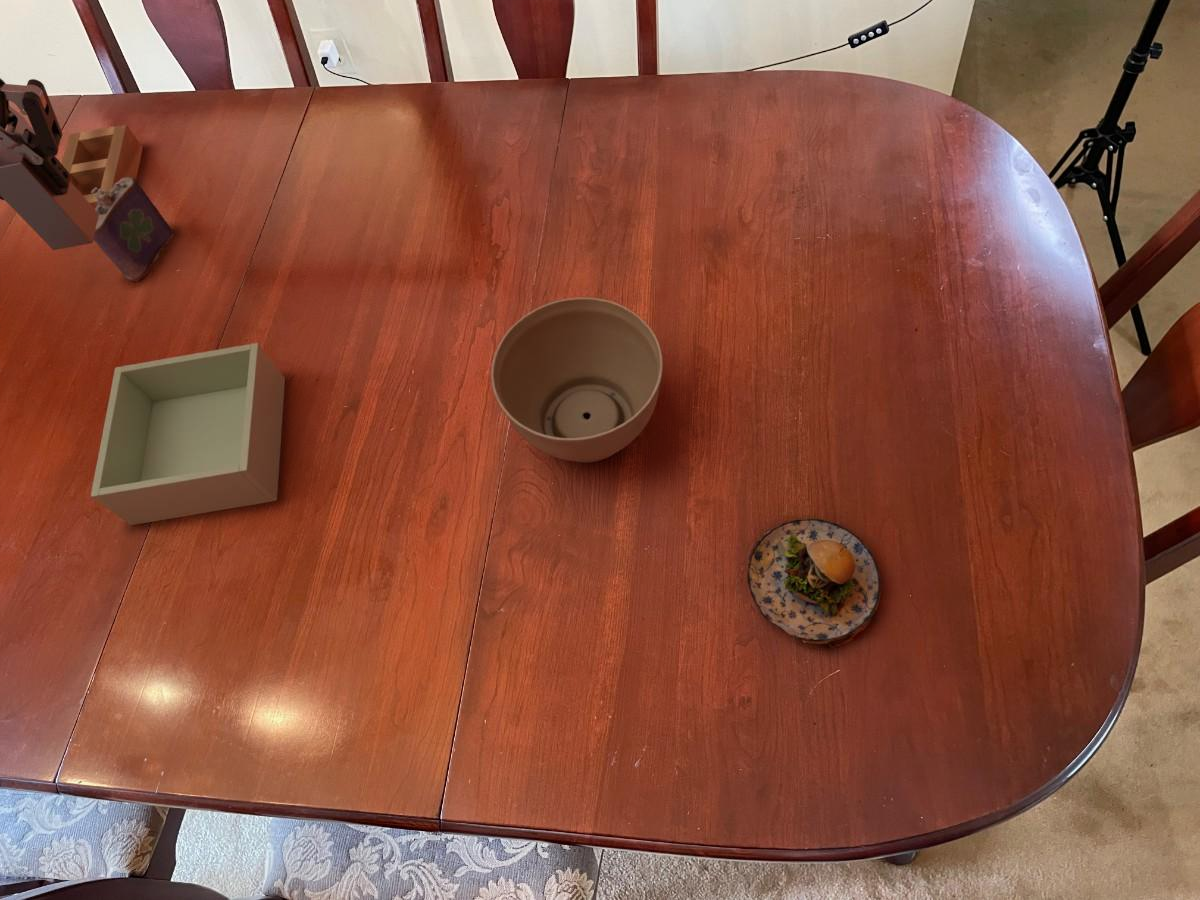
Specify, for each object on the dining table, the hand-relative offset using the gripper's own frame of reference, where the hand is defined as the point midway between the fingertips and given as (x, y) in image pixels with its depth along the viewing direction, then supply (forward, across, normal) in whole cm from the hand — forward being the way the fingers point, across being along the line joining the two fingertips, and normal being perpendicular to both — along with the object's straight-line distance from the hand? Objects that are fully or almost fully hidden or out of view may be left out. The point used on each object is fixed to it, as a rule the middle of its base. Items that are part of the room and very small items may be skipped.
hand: (40, 192), depth 79 cm
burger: (+24, +64, -42) cm, 81 cm away
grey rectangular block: (+5, 0, 0) cm, 5 cm away
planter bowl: (+24, +46, -21) cm, 56 cm away
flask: (+24, -5, +15) cm, 29 cm away
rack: (+23, -13, +30) cm, 40 cm away
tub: (+24, +6, -16) cm, 29 cm away
